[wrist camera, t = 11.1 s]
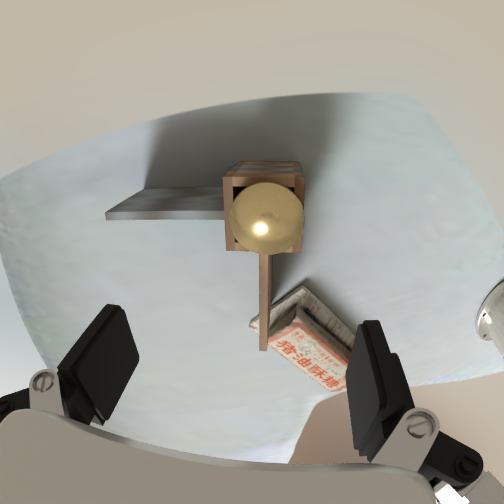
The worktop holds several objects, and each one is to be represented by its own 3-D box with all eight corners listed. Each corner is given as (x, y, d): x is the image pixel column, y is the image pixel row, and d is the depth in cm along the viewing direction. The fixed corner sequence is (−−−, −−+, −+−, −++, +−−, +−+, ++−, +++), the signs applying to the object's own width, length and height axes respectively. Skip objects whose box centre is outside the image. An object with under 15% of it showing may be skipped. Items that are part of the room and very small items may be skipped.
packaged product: (379, 373, 38) (326, 402, 41) (373, 351, 42) (324, 380, 46) (303, 302, 33) (244, 343, 37) (302, 280, 38) (248, 320, 41)
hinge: (299, 162, 31) (304, 177, 23) (292, 304, 39) (293, 352, 31) (141, 166, 33) (100, 183, 25) (161, 297, 41) (136, 337, 33)
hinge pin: (299, 165, 31) (306, 184, 22) (298, 217, 33) (302, 256, 24) (244, 164, 31) (227, 183, 22) (245, 216, 34) (230, 253, 25)
